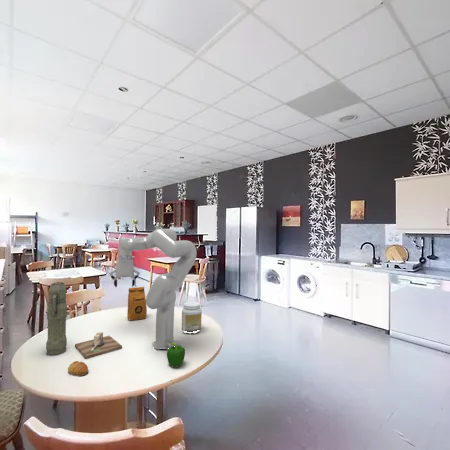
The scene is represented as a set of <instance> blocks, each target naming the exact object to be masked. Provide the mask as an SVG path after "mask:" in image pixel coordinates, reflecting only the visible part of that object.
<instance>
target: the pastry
mask: <svg viewBox="0 0 450 450" xmlns="http://www.w3.org/2000/svg"><path fill="white" fill-rule="evenodd" d="M89 370H90V369H89V367H88V366H87V364H86V363H85V362H83V361H79V360H75V361H73V362H71V363H70V364H69V366H68V367H67V371H68V372H67V373H69V374H70V375H72V376H76V377H82V376H85V375H87V374H88V373H89Z"/></svg>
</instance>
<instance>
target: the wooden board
mask: <svg viewBox="0 0 450 450" xmlns="http://www.w3.org/2000/svg"><path fill="white" fill-rule="evenodd" d="M103 341H104V345H102V346H99V347H95V349H94V350H93V351H91V349H92V348H93V347H94V346H93V342H94V338H93V339H91V340H89V339H88V340H86V341H82V342H79V343H74V348H75V349H76V350H77V352H79V354H80V355H81V356H82V357H83V358H84V359H85V360H88V359H91V358H95V357H98V356H102V355H105V354H108V353H111V352H116V351H119V350H121V349H123V345H122V344H120V343H119V342H118V341H117V340H116V339H114V337H112V336H110V335H106V336H103Z"/></svg>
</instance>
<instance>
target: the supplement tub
mask: <svg viewBox="0 0 450 450" xmlns="http://www.w3.org/2000/svg"><path fill="white" fill-rule="evenodd" d="M182 307H183V308H182V311H181V331H182V330H183V331H187V332H193V331H197V330H200V329H201V330H202V307H201V303H200V302H198V301H187V302H184V303H183V306H182Z"/></svg>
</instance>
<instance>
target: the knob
mask: <svg viewBox="0 0 450 450" xmlns="http://www.w3.org/2000/svg"><path fill="white" fill-rule="evenodd" d="M103 337H104V331H97V333H96V334H95V335H93V339H94V342H93V346H94V347H93V348H92V349H91V351H93V350H94V349H95V347H99V346H102V345H104V341H103Z"/></svg>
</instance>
